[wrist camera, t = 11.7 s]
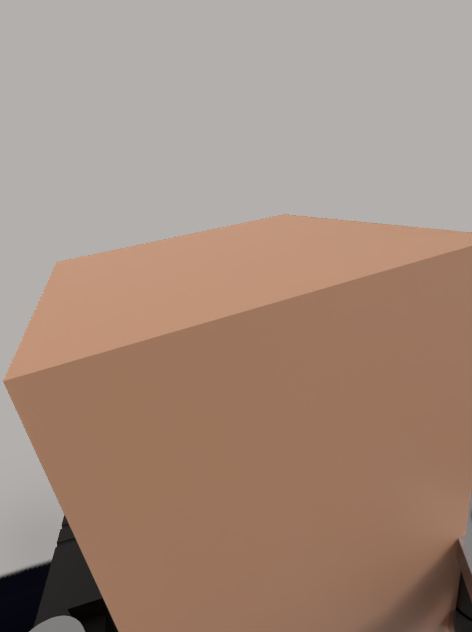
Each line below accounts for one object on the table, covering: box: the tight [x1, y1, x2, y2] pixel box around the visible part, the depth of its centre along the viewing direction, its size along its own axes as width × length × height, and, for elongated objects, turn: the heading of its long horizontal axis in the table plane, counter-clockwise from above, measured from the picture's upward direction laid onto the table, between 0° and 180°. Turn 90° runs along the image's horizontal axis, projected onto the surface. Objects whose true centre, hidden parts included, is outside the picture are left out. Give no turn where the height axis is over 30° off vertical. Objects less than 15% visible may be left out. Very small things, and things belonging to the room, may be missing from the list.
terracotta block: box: [3, 214, 472, 632], centre depth 8 cm, size 5×5×15 cm
